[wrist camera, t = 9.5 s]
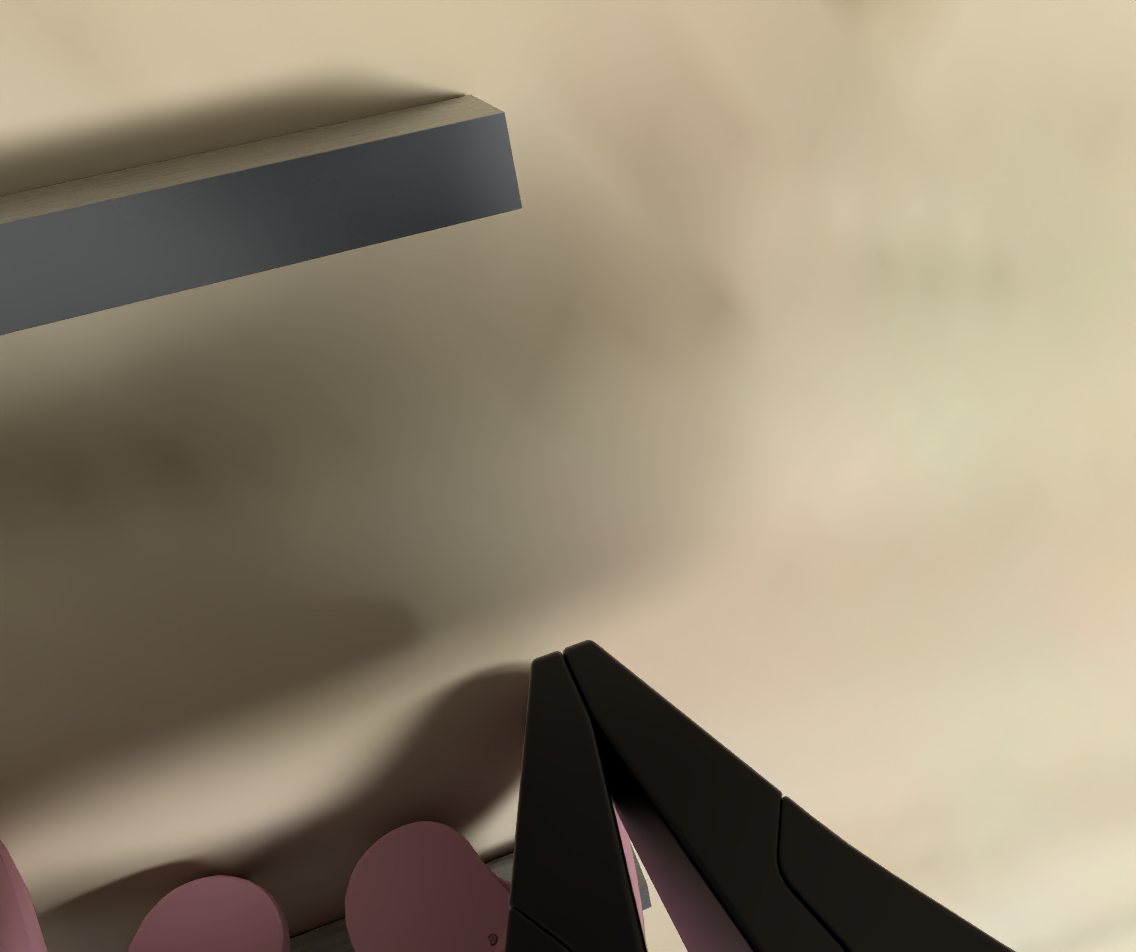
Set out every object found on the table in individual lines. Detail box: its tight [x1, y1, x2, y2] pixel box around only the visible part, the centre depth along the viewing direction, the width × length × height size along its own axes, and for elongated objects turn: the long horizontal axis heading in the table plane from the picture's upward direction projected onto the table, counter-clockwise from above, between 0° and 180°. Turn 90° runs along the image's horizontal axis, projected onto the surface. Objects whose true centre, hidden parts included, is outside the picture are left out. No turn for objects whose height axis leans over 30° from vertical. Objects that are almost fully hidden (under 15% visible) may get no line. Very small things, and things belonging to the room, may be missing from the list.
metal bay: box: [0, 95, 651, 952], centre depth 10 cm, size 14×15×2 cm
